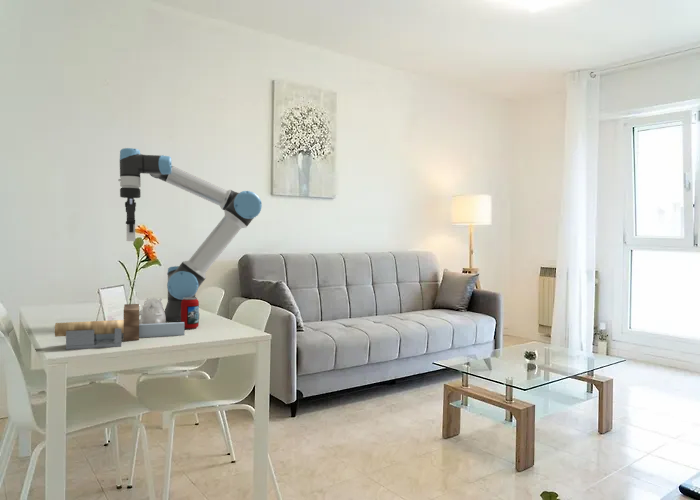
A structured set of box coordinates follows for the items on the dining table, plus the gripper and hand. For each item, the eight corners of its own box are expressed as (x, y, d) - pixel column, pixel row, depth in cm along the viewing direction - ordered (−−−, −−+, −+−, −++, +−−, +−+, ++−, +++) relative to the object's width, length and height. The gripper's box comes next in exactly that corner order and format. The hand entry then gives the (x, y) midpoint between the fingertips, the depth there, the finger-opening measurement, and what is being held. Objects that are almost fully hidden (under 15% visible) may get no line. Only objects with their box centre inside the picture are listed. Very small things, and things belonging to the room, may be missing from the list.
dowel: (123, 331, 175) (123, 318, 175) (123, 334, 171) (123, 321, 171) (56, 335, 167) (56, 321, 167) (54, 337, 163) (54, 324, 163)
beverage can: (193, 329, 200) (193, 299, 200) (177, 329, 202) (177, 298, 201) (201, 327, 207) (201, 297, 207) (186, 326, 208) (186, 296, 208)
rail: (183, 333, 192) (183, 322, 192) (184, 334, 190) (184, 323, 190) (94, 338, 180) (94, 326, 180) (93, 340, 178) (93, 327, 178)
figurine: (147, 326, 207) (147, 296, 207) (170, 327, 206) (170, 297, 206) (134, 330, 197) (134, 299, 197) (158, 331, 196) (158, 300, 196)
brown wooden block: (138, 331, 195) (138, 303, 195) (139, 340, 179) (139, 309, 179) (124, 332, 193) (124, 304, 193) (123, 341, 177) (123, 310, 177)
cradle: (121, 341, 177) (121, 324, 177) (121, 346, 169) (121, 328, 169) (69, 344, 171) (69, 326, 171) (65, 349, 163) (65, 331, 162)
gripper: (119, 189, 215) (120, 240, 216) (120, 184, 192) (121, 241, 193) (138, 190, 218) (139, 240, 219) (142, 185, 195) (142, 241, 196)
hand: (130, 241), depth 206 cm, fingers open, 13 cm apart
